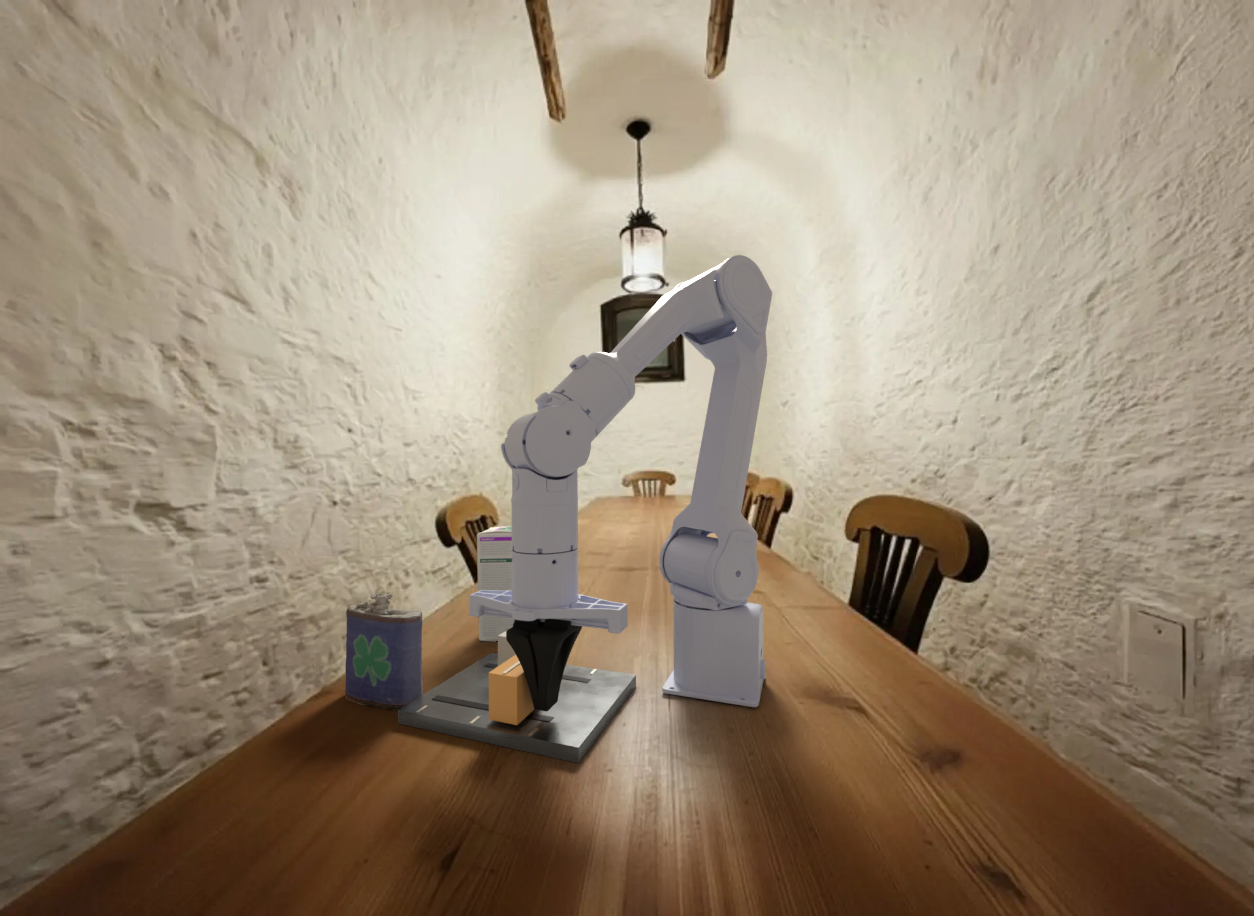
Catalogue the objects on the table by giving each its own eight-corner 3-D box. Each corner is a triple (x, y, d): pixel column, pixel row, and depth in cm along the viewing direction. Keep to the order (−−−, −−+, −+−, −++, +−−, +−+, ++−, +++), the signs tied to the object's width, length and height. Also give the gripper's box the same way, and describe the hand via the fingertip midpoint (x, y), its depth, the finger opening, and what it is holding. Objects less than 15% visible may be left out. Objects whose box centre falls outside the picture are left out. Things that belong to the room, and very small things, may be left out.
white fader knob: (542, 661, 55) (542, 624, 55) (521, 678, 51) (521, 637, 51) (520, 658, 56) (520, 621, 56) (497, 674, 52) (497, 634, 52)
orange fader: (543, 701, 46) (543, 656, 46) (517, 725, 42) (516, 676, 42) (516, 696, 47) (516, 652, 47) (488, 719, 42) (488, 671, 43)
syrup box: (521, 642, 65) (521, 531, 65) (476, 642, 65) (476, 531, 65) (530, 627, 71) (530, 525, 71) (489, 627, 71) (489, 525, 71)
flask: (428, 701, 49) (427, 593, 49) (405, 716, 46) (404, 601, 46) (360, 686, 52) (359, 585, 52) (335, 699, 50) (334, 592, 50)
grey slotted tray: (636, 686, 52) (635, 674, 52) (578, 763, 39) (578, 747, 39) (490, 663, 58) (490, 652, 58) (397, 723, 45) (397, 709, 45)
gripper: (445, 551, 42) (446, 713, 42) (605, 562, 37) (606, 745, 37) (494, 539, 48) (495, 678, 48) (635, 547, 44) (636, 701, 44)
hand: (545, 705), depth 43 cm, fingers closed
